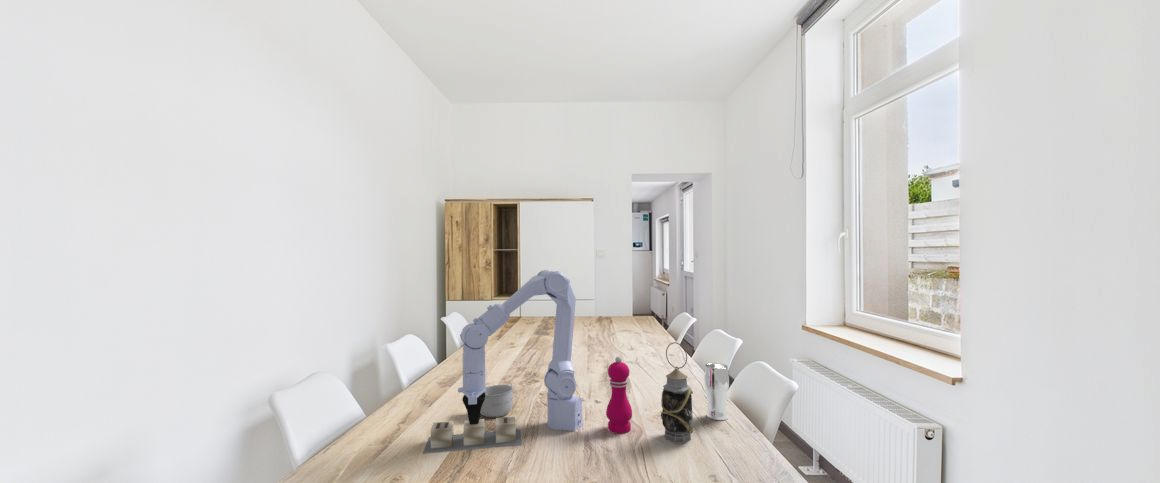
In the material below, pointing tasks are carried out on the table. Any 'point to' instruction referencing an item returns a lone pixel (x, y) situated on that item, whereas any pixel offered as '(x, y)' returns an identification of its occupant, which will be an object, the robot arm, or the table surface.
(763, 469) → the table surface
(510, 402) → the teacup
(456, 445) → the mat
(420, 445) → the table surface
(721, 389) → the silver tall cylinder
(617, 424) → the pepper mill
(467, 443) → the plain block
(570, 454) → the table surface
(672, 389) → the lantern
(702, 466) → the table surface
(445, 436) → the marked block two
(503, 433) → the marked block one
